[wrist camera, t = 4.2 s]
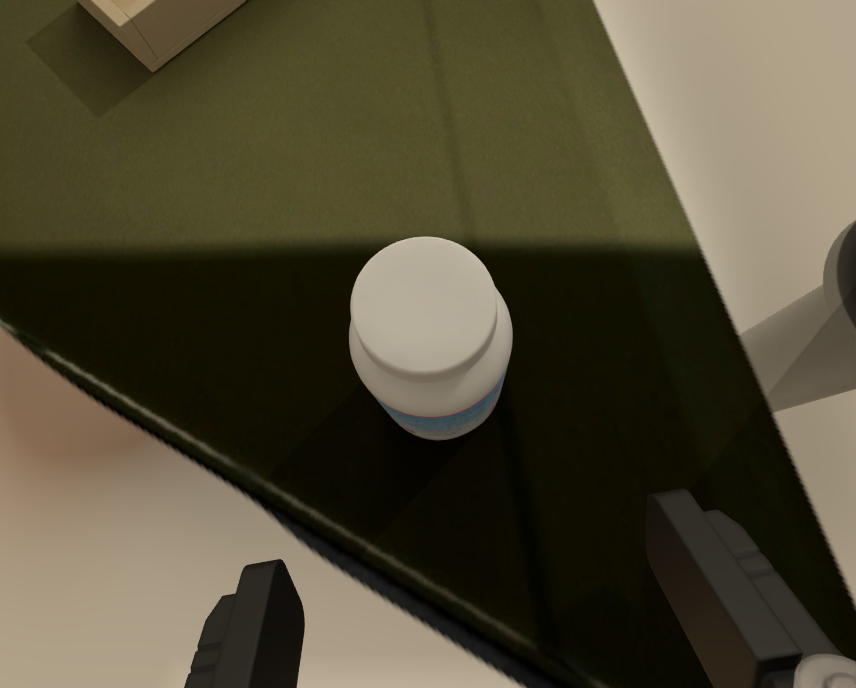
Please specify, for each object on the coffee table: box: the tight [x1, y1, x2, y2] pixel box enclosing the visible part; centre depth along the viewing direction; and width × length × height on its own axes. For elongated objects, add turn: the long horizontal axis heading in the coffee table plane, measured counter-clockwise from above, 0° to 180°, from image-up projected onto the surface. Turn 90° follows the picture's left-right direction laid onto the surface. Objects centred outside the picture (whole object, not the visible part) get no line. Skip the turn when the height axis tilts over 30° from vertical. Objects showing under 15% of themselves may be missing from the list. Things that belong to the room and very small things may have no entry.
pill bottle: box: [349, 237, 513, 440], centre depth 22 cm, size 6×6×11 cm
